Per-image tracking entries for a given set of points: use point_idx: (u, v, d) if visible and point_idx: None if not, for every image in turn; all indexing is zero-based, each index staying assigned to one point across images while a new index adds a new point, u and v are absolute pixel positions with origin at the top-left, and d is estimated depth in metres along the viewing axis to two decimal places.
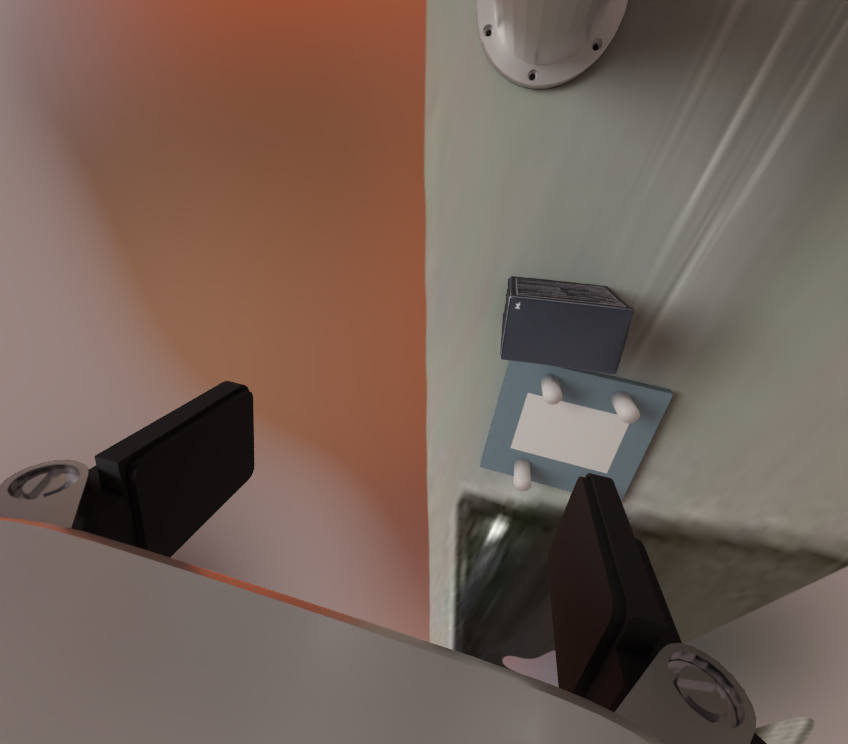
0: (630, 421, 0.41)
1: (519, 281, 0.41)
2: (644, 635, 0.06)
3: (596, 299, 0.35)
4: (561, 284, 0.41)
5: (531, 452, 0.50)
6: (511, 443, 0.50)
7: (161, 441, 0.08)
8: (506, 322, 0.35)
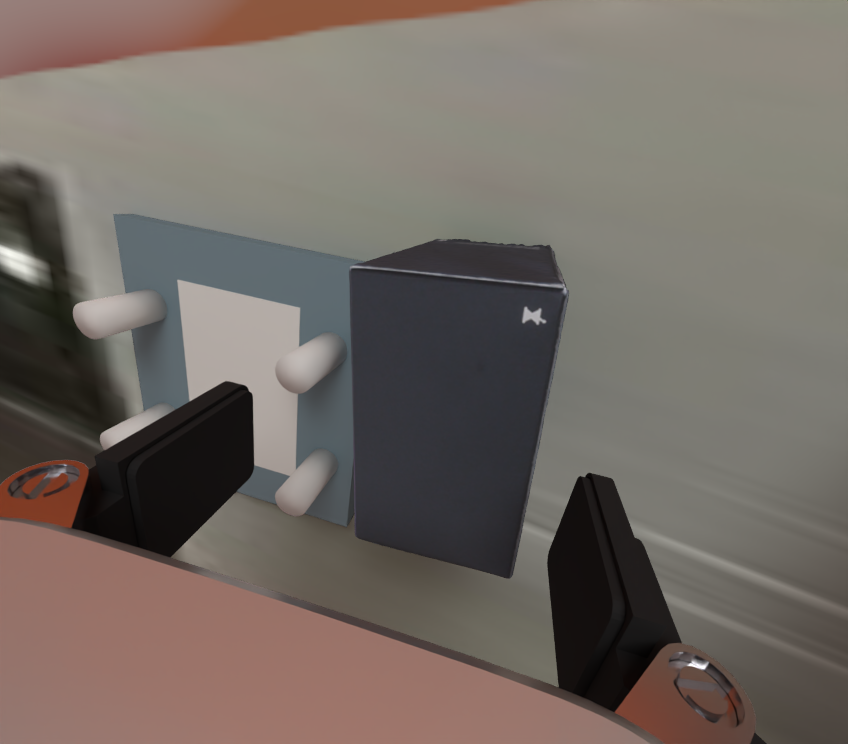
0: (280, 503, 0.23)
1: None
2: (644, 635, 0.06)
3: None
4: None
5: (183, 322, 0.24)
6: (186, 280, 0.23)
7: (161, 441, 0.08)
8: (473, 280, 0.10)
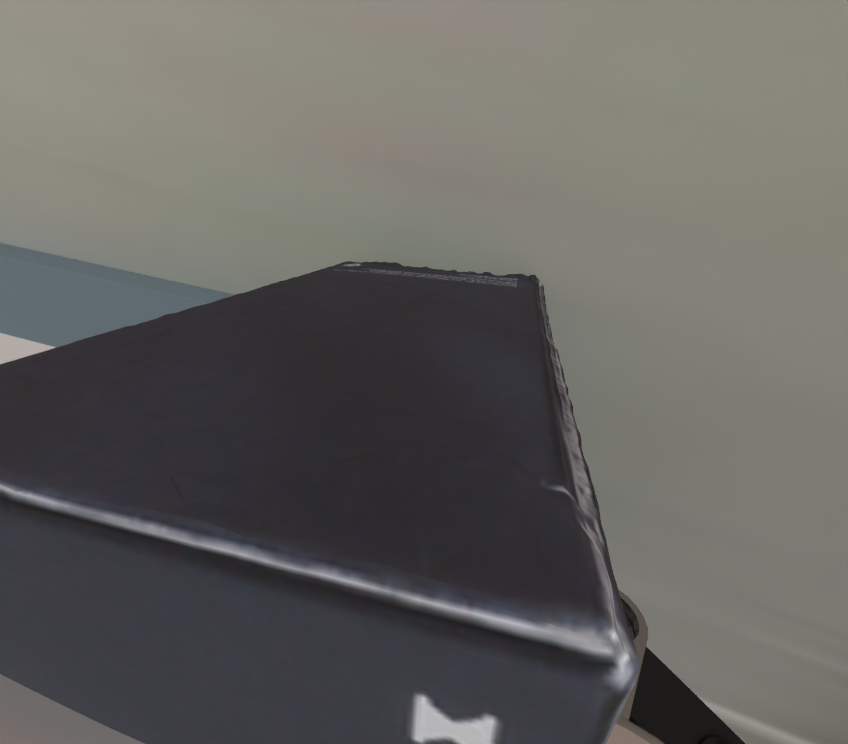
0: None
1: None
2: None
3: None
4: None
5: None
6: None
7: None
8: (183, 548, 0.02)
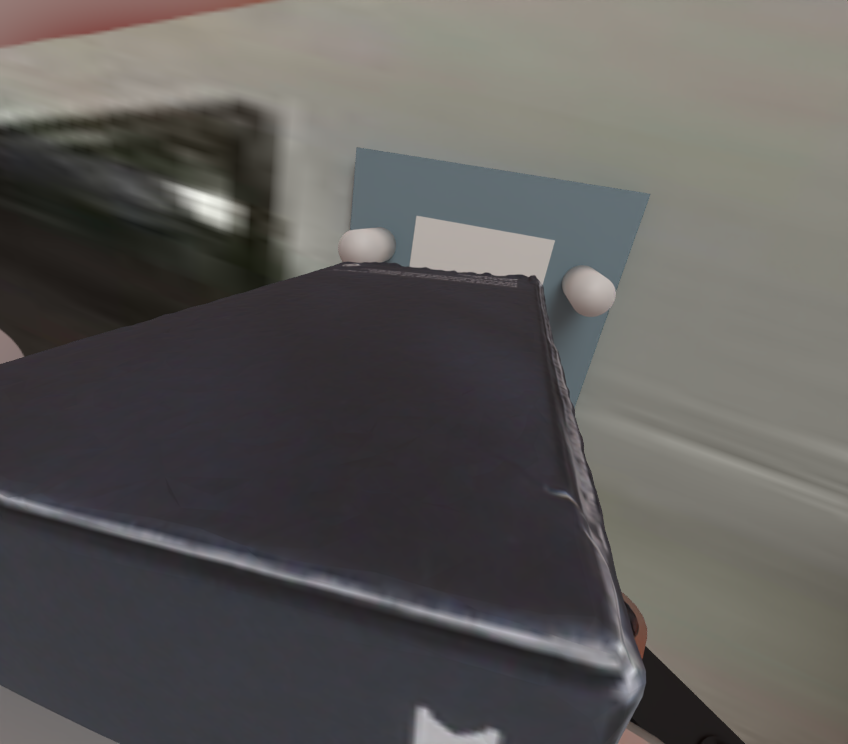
0: None
1: None
2: None
3: None
4: None
5: (412, 262, 0.24)
6: (427, 216, 0.23)
7: None
8: (178, 556, 0.02)
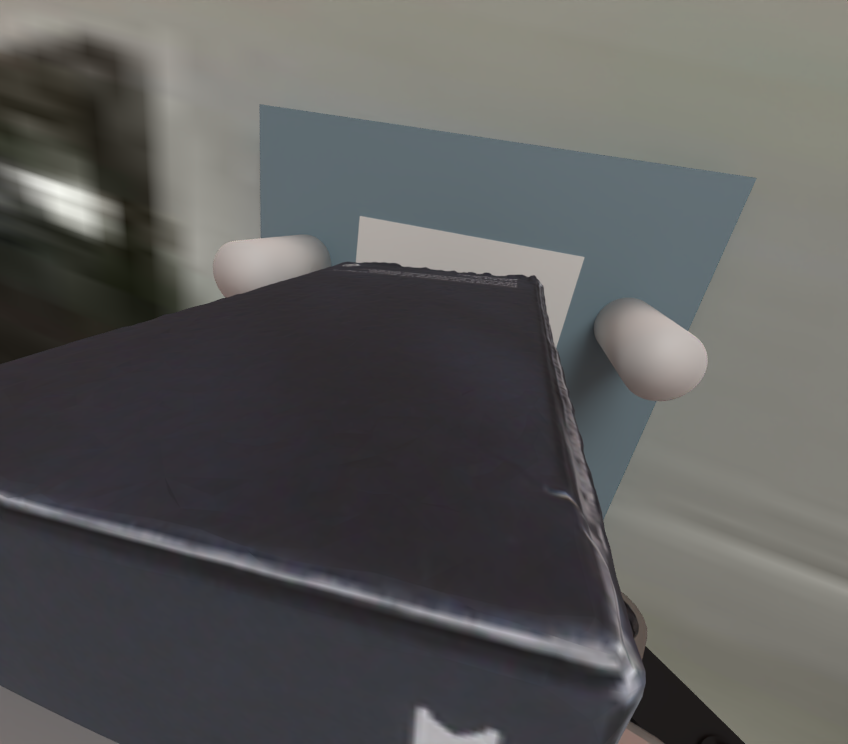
0: None
1: None
2: None
3: None
4: None
5: None
6: (376, 217, 0.14)
7: None
8: (178, 557, 0.02)
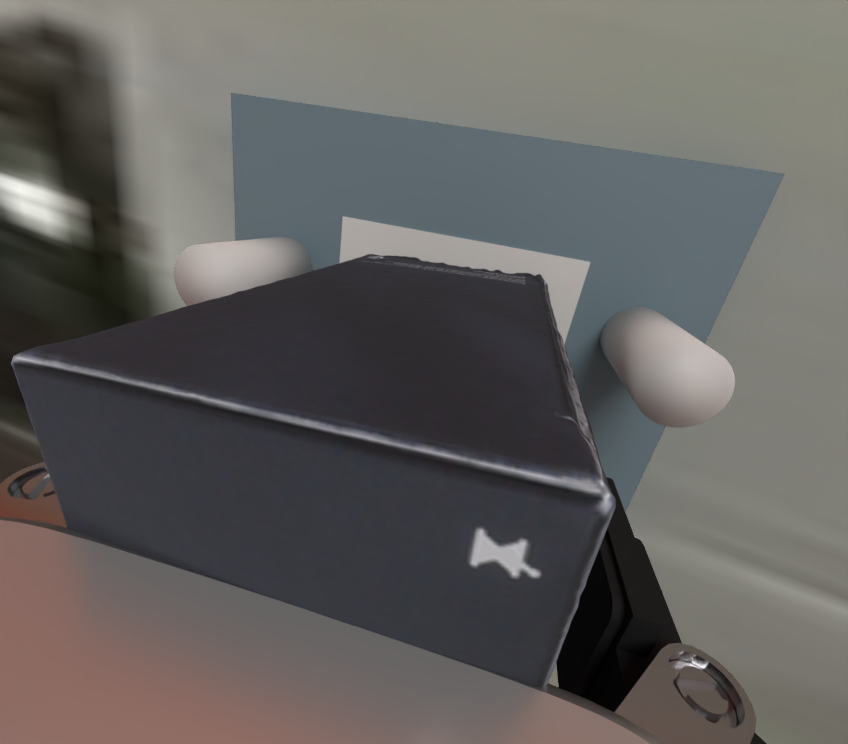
0: None
1: None
2: (644, 635, 0.06)
3: None
4: None
5: None
6: (361, 218, 0.13)
7: None
8: (329, 435, 0.03)
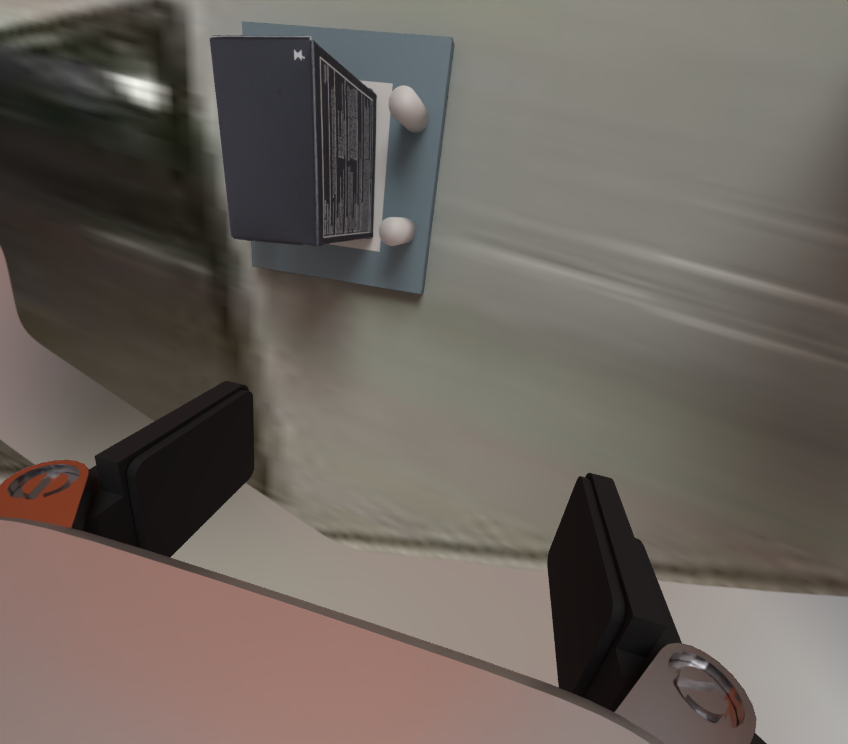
0: (382, 235, 0.29)
1: (364, 99, 0.27)
2: (644, 635, 0.06)
3: (334, 201, 0.25)
4: (366, 169, 0.29)
5: None
6: None
7: (161, 441, 0.08)
8: (269, 37, 0.20)
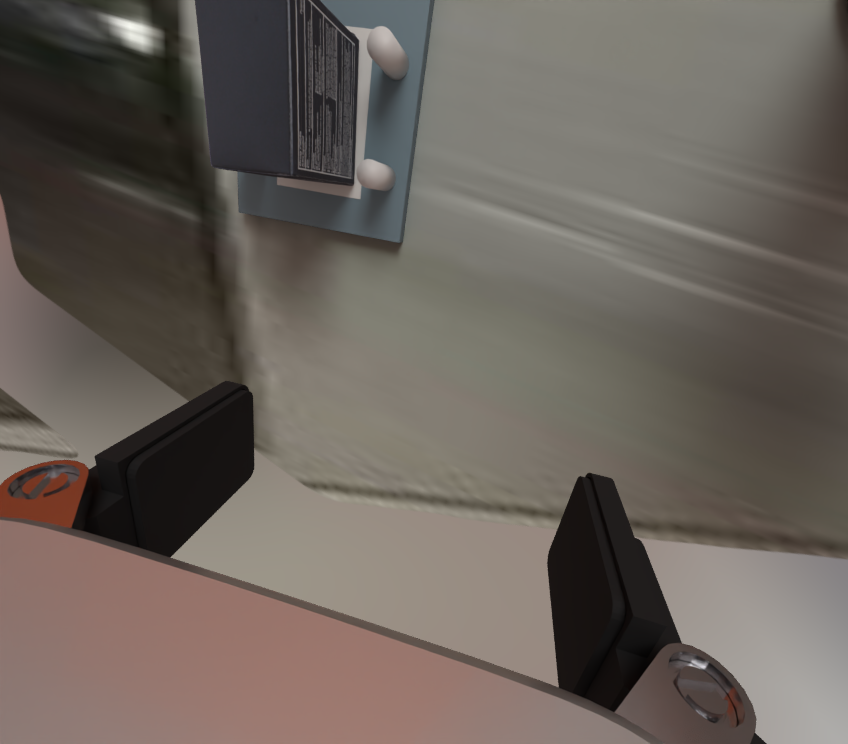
0: (360, 177, 0.30)
1: (345, 41, 0.28)
2: (644, 635, 0.06)
3: (310, 135, 0.26)
4: (347, 112, 0.30)
5: None
6: None
7: (161, 441, 0.08)
8: None
